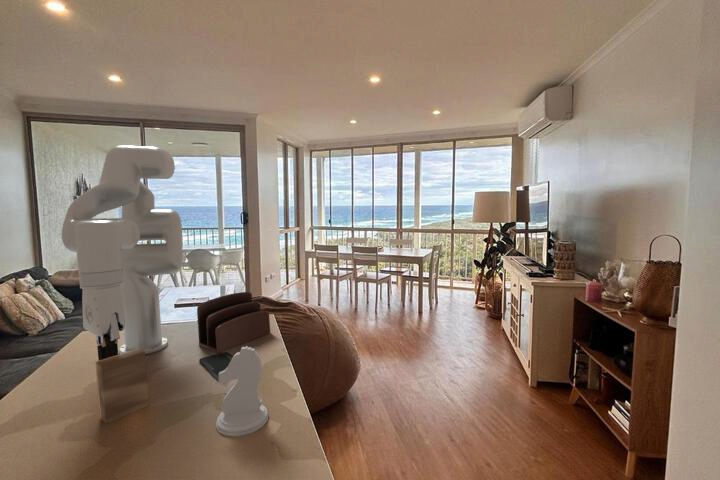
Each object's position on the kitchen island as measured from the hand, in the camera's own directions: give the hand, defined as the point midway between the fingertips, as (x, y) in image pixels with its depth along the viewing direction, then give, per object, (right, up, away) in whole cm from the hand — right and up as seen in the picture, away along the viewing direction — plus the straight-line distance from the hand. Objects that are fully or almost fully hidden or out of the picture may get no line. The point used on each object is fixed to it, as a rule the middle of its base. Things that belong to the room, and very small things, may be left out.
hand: (108, 361), depth 77 cm
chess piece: (+31, -10, -6) cm, 33 cm away
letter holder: (+15, -6, +37) cm, 40 cm away
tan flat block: (+5, -10, -3) cm, 11 cm away
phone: (+18, -8, +18) cm, 26 cm away
